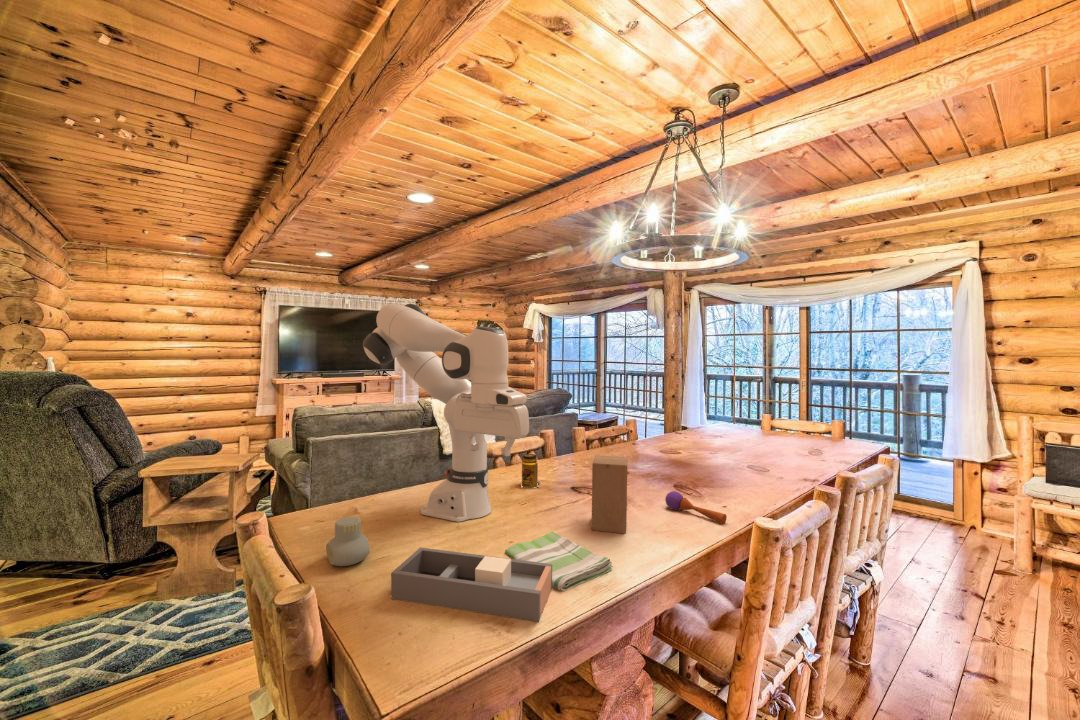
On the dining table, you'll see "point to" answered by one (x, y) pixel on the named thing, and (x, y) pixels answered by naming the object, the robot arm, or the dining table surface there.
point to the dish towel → (562, 559)
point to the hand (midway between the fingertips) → (489, 453)
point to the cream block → (493, 571)
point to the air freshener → (347, 543)
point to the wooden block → (609, 494)
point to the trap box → (472, 584)
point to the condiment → (530, 471)
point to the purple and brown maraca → (692, 507)
